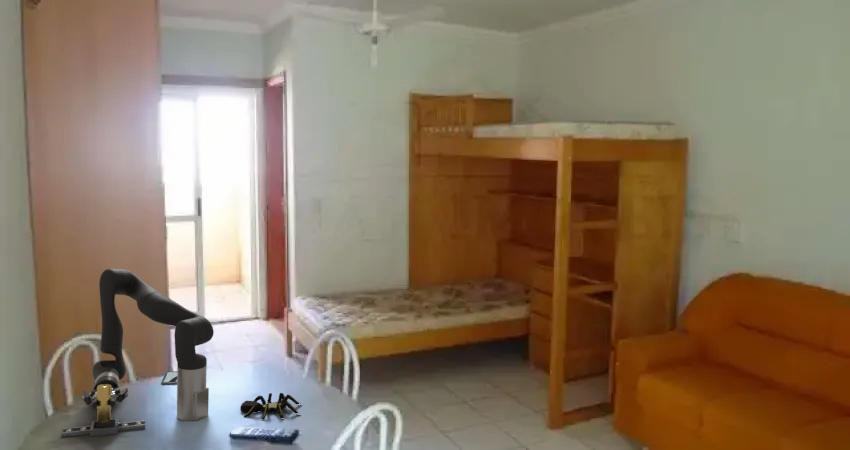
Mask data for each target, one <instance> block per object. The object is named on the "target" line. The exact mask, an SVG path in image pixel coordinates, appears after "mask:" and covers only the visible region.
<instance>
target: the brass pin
mask: <svg viewBox="0 0 850 450" xmlns="http://www.w3.org/2000/svg"><path fill="white" fill-rule="evenodd" d="M111 419H112V407H111V385H110V384H101V385H98V386H97V408H96V420H97V422H100V423H103V422H108V421H110V420H111Z"/></svg>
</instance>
